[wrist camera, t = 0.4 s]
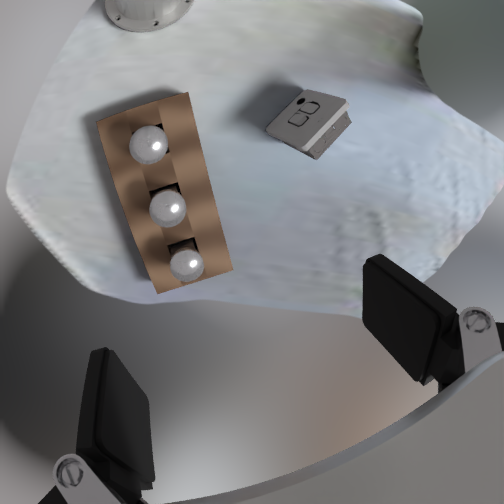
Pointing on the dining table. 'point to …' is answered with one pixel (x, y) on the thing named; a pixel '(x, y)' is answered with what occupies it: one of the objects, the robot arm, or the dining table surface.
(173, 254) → the knob far
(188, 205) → the knob mount
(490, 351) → the robot arm
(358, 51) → the dining table surface
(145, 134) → the knob near
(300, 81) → the dining table surface
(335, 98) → the electrical switch
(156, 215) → the knob mid
